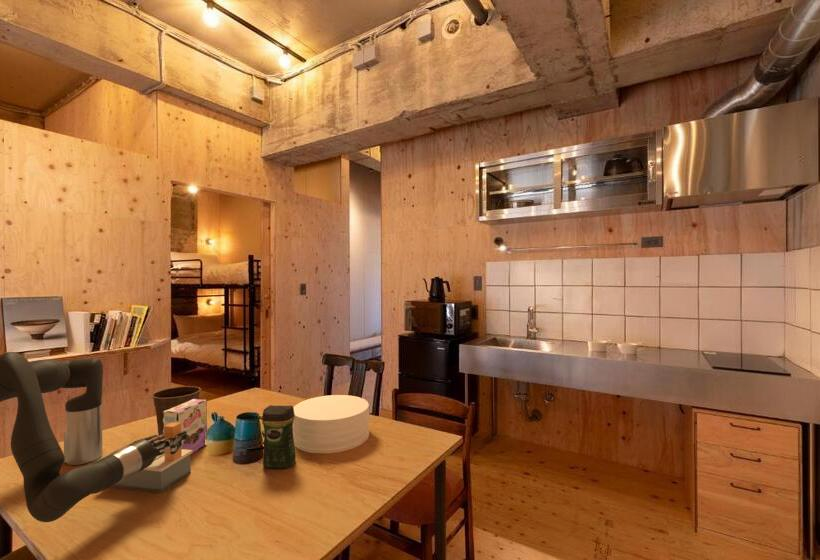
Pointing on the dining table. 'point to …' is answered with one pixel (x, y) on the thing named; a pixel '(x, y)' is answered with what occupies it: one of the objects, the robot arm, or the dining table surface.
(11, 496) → the dining table surface
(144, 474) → the tub
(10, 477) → the dining table surface
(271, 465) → the coffee jar
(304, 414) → the plate stack
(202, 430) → the candy box
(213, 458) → the dining table surface
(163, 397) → the plant pot
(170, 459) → the lid
